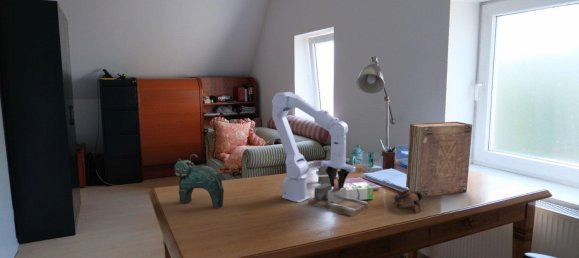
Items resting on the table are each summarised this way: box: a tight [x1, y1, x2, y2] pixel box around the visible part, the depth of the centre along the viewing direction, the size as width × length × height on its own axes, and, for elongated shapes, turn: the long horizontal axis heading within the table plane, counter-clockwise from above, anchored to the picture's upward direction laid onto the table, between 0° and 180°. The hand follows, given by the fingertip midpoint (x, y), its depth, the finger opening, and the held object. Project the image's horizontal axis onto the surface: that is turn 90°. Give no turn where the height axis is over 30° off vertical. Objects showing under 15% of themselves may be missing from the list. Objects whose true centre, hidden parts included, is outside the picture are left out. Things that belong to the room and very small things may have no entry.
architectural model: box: [315, 162, 338, 185], centre depth 178 cm, size 19×17×11 cm
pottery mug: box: [393, 189, 423, 214], centre depth 147 cm, size 12×10×8 cm
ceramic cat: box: [173, 153, 225, 209], centre depth 148 cm, size 20×6×20 cm, turn 70°
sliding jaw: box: [328, 176, 346, 204], centre depth 149 cm, size 3×8×9 cm, turn 140°
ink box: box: [343, 181, 374, 201], centre depth 159 cm, size 9×5×12 cm
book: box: [405, 121, 473, 198], centre depth 166 cm, size 25×9×30 cm, turn 109°
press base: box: [307, 183, 369, 217], centre depth 149 cm, size 20×12×6 cm, turn 50°
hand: (337, 187), depth 148 cm, fingers closed on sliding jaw, 3 cm apart
